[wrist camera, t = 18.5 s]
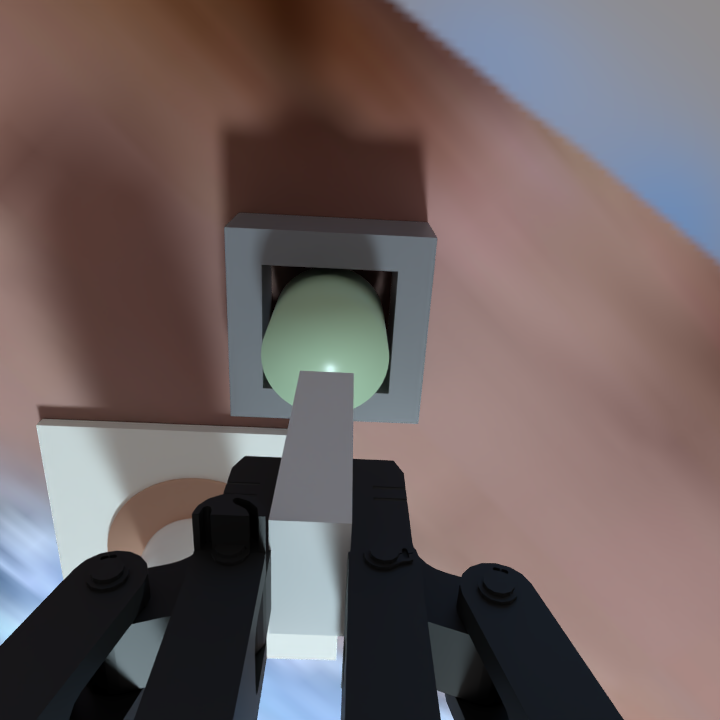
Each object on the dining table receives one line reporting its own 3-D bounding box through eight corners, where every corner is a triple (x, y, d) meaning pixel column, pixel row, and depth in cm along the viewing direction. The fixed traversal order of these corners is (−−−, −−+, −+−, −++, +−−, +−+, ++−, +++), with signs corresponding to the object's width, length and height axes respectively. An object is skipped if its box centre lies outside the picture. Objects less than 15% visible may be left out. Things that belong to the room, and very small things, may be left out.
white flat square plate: (80, 643, 34) (74, 656, 33) (42, 418, 28) (34, 427, 27) (336, 651, 34) (336, 663, 33) (347, 431, 29) (347, 440, 28)
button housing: (243, 384, 28) (230, 415, 25) (238, 212, 25) (224, 227, 22) (411, 391, 28) (418, 423, 25) (427, 222, 25) (437, 238, 22)
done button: (274, 366, 26) (261, 411, 22) (274, 262, 24) (260, 293, 20) (380, 370, 26) (384, 417, 22) (387, 268, 24) (393, 299, 20)
